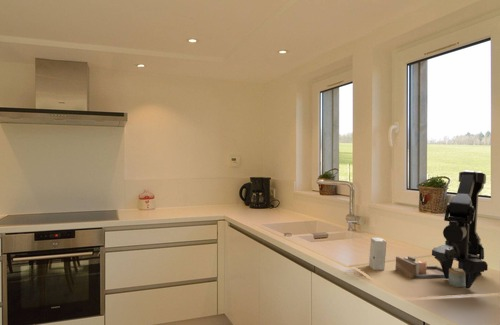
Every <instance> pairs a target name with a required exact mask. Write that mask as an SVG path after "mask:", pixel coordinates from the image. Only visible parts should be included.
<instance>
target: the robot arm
mask: <svg viewBox="0 0 500 325" xmlns="http://www.w3.org/2000/svg"><path fill="white" fill-rule="evenodd" d="M486 181H487V174H485V173H483V171H475V170H462V171H460V172H459V173H458V182H459V185H458V188H457V192H456V195H454V196H452V197H451V198H450V200H449V202H448V203H447V204H446V208H445V214H444V219H443V221H445V222H449V223H448V224H447V225H446V226H445V227H444V228H443V230H442V236H443V237H444V239H445V244H441V245H439V246H437V247H433V249H431V256H433V257H434V259H436V260H437V261H438V262H439V263H440V266H441V267H440V268H442V270H443V273H444V276H445V277H444V279H445V280H449V268H453V264H454V261H456V262H457V268H459V269H463V270H464V272H465V289H471V287H472V285H473V283H474V282H475V281H476V279H477V278H478V277H479V275H483V273H484V272H485V271H488V268H489V266H488V265H489V264H488V263H487V262H486V261H485V248H484V247H483V244H482V243H481V238H480V235H478V232H477V226H478V225H477V223H478V206H479V205H478V204H479V195H480V193H481V192H482V190H483V189H484V185H485V184H486V183H487V182H486Z"/></svg>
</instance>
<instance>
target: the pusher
mask: <svg viewBox="0 0 500 325" xmlns="http://www.w3.org/2000/svg"><path fill="white" fill-rule="evenodd" d="M403 259H405V260H407V261H409V262H411V263H414V264H416V267H415V275H419V263H418V262H416V261H415V259H416V258H414V257H412V256H407V257H406V256H405V257H403Z"/></svg>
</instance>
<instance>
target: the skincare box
mask: <svg viewBox="0 0 500 325" xmlns="http://www.w3.org/2000/svg"><path fill="white" fill-rule="evenodd" d="M386 254H387V241H386V240H385V239H384V238H382V237H370V247H369V258H368V259H369V261H368V266H369V267H370V268H371V269H372V270H374V271H385V269H386V268H385V266H386V265H385V264H386Z"/></svg>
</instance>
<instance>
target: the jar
mask: <svg viewBox="0 0 500 325" xmlns="http://www.w3.org/2000/svg"><path fill="white" fill-rule="evenodd" d="M415 261H416V262H418V263H419V275H425V274H426V268H427V266H428V265H427V264H428V263H427V261H425V260H422V259H416V258H415Z"/></svg>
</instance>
